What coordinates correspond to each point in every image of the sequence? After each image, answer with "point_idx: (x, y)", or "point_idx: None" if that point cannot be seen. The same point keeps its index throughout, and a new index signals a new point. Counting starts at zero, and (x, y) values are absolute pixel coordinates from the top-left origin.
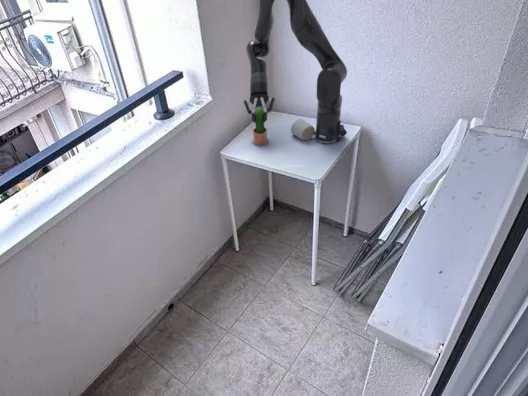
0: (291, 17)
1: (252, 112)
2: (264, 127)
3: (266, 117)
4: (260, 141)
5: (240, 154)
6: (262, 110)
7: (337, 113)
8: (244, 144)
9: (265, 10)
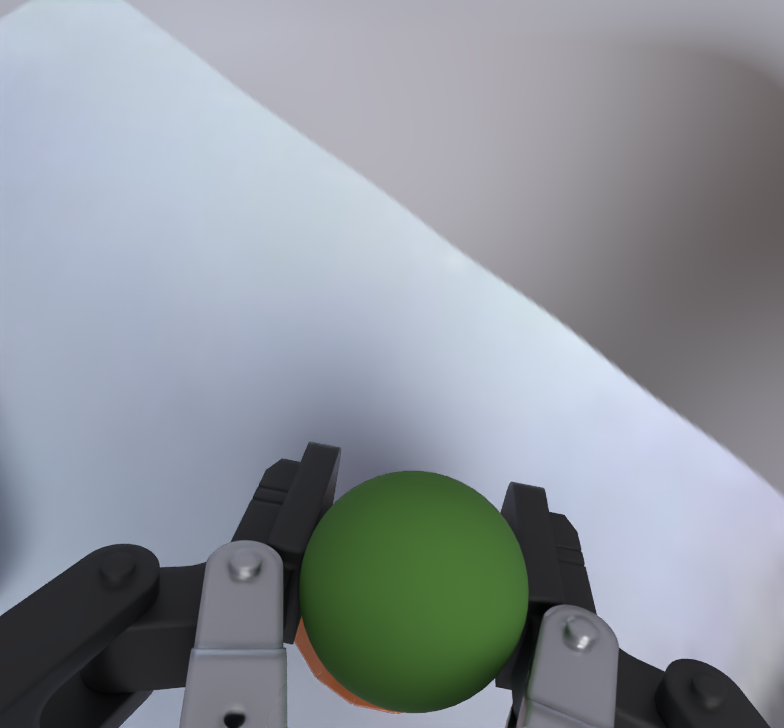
0: None
1: (592, 630)
2: (311, 653)
3: (267, 486)
4: None
5: (630, 408)
6: (324, 560)
7: None
8: None
9: None
